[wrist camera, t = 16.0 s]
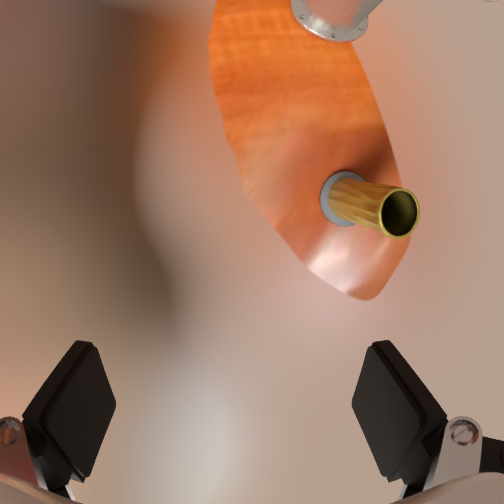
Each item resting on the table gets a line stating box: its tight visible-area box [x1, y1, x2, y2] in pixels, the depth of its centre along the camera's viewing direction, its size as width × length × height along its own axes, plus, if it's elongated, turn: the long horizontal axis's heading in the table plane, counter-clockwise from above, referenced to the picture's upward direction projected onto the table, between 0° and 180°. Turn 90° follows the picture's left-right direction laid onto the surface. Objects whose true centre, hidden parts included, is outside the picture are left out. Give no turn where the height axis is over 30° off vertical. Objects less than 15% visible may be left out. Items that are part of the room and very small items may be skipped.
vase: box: [328, 177, 420, 239], centre depth 32 cm, size 6×6×14 cm
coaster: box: [320, 172, 365, 226], centre depth 39 cm, size 8×8×1 cm
